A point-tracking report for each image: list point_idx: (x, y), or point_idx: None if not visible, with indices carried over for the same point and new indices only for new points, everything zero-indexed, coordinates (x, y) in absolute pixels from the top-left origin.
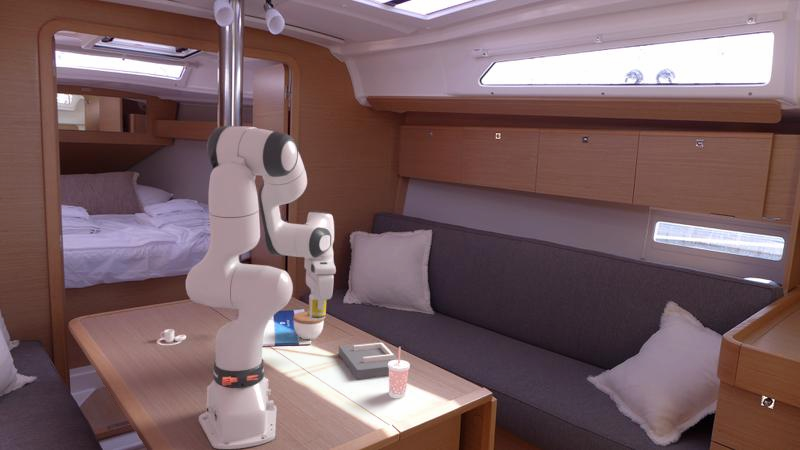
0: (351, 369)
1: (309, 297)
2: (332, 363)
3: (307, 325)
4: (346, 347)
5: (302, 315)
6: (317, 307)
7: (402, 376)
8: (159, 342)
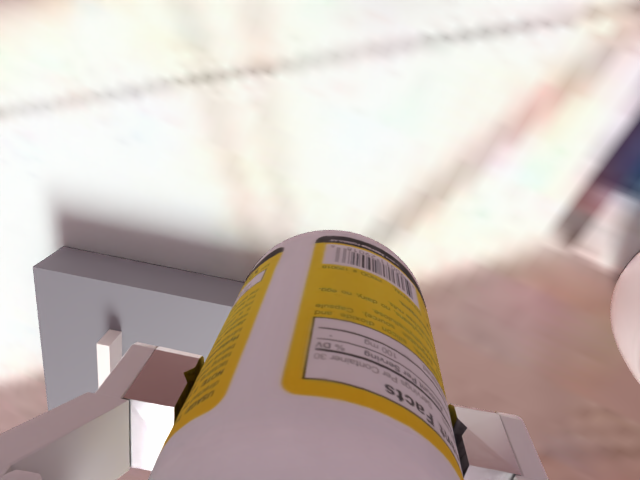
0: (141, 268)
1: (328, 411)
2: (268, 233)
3: None
4: None
5: None
6: (142, 355)
7: None
8: None
